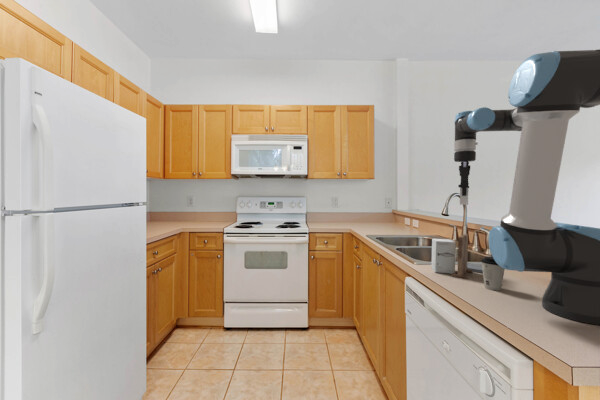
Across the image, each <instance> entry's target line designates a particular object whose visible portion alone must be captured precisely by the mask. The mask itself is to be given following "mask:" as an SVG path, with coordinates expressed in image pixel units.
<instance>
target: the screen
mask: <svg viewBox="0 0 600 400" xmlns="http://www.w3.org/2000/svg"><path fill="white" fill-rule="evenodd" d="M468 249H469V234H468V233H463V234H462V235H459V236H458V239H457V272H455V273H452V274H451V277H455V278H459V279H466V280H468V277H469V275H468V274H473V273H474V272H473V270H470V269H467V263H468V256H469V255H468V251H469V250H468ZM466 273H468V274H466Z"/></svg>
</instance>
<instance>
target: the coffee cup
mask: <svg viewBox="0 0 600 400" xmlns="http://www.w3.org/2000/svg"><path fill="white" fill-rule="evenodd" d="M480 262H481V265H482V269H483V273H482V277H483V285H484V286H483V287H484V288H485V289H486V290H489V291H490V290H491V291H497V292H498V291H501V290H502V286H503V280H504V274H505V270H506V269H503V268H501V267H500V266H499V265H498V264H497V263H496V262H495V260H494V258H493V256H484V258H482V259H481V260H480Z"/></svg>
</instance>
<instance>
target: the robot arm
mask: <svg viewBox="0 0 600 400" xmlns="http://www.w3.org/2000/svg"><path fill="white" fill-rule="evenodd" d="M507 94H508V96H507V97H508V98H507V99H509V100H508V102H509V104H510V105H511V106H513V107H515V108H512V109H491V108H490V107H486V106H485V107H484V106H483V107H478V108H477V109H474V110H465V111H460V112H458V113H457V114H455V119H454V142H453V143H454V144H453V146H454V147H453V149H454V153H453V154H454V157H453V160H454V162H456V163H460V165H459V166H458V172H459V176H460V184H458V187H457V188H459V205H466V206H467V205H469V188H470V186H469V176H470V172H471V165H469V164H470V163H471V162H474V161H476V159H477V158H476V157H477V154H476V149H477V148H476V146H478V144H479V142H477V133H478V132H514V131H515V132H520V139H519V145H518V151H517V158H516V159H517V160H516V165H515V172H514V176H513V177H514V178H513V184H512V185H513V186H512V191H511V198H510V205H509V212H508V213H507V214H505V215H503V216H502V217H501V219H500V220H501V221H500V225H496V226H493V227H492V228H491V229H490V231H489V233H488V247H489V251H490V254H491V257H493V258H494V260H495V262H496V263H497V264H498V265H499V266H500V267H501V268H503V269H505V270H506V271H507V270H509V271H517V272H521V273H523V272H531V273H535V272H537V273H551V276H550V277H551V279H550V281H549V283H548V285H547V287H546V289H545V292H544V293H543V295H542V299H541V306H542V308H544V309H545V310H546V311H548V312H550V313H551V314H554V315H556V316H559V317H563V318H566V319H568V320H569V319H570V320H573V321H577V322H581V323H585V324H592V325H598V326H600V228H599V227H592V226H584V225H577V224H570V223H563V222H558V221H556V222H555V221H554V220H553V219H552V214H553V208H554V202H555V198H556V191H557V185H558V181H559V176H560V170H561V165H562V159H563V153H564V148H565V143H566V138H567V132H568V126H569V122H570V119H572V118H573V117H574V116H576V115H577V114H579V113H580V111H581V109H589V108H594V107H597V106H600V49H589V50H588V49H585V50H582V49H581V50H559V51H558V50H553V51H549V52H542V53H535V54H532V55H530V56H529V57H527V58H526V59H525V60H524V61H523V62H522V63H520V65H519V66H518V68H517V70H516V71H515V72H514V74H513V76H512V79H511V81H510V84H509V87H508V93H507Z"/></svg>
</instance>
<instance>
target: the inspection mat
mask: <svg viewBox="0 0 600 400" xmlns="http://www.w3.org/2000/svg"><path fill="white" fill-rule="evenodd" d="M467 269H470V270H473V273H479V274H483V269H482V264H478V263H471V262H467Z"/></svg>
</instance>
